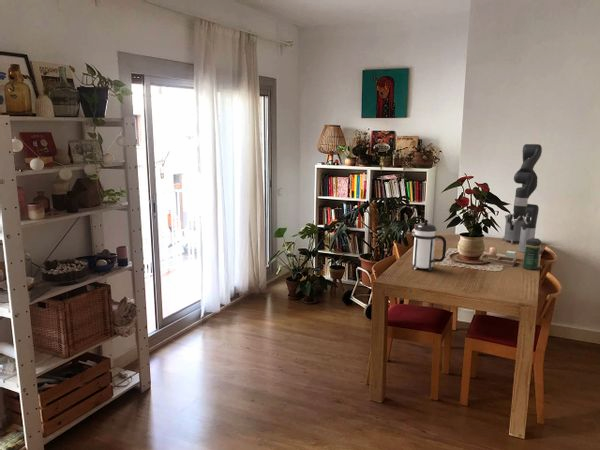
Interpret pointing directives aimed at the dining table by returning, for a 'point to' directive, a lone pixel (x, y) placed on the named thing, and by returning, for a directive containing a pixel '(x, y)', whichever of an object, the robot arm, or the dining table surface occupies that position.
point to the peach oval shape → (493, 251)
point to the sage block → (510, 254)
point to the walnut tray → (498, 259)
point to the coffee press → (426, 246)
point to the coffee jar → (531, 253)
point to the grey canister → (511, 234)
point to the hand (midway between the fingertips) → (517, 229)
